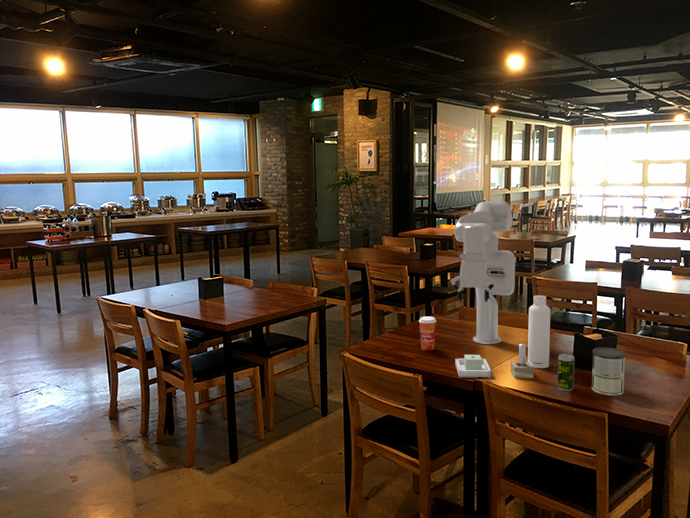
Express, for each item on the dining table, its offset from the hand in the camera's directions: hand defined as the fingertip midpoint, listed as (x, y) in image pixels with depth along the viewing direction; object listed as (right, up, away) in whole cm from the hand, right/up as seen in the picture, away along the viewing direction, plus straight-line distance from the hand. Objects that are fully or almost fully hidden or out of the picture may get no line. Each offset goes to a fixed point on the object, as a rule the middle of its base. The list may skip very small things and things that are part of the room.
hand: (473, 301), depth 212 cm
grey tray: (+1, -28, +4) cm, 28 cm away
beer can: (+29, -30, -17) cm, 45 cm away
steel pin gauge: (+18, -28, -2) cm, 33 cm away
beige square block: (+18, -28, -2) cm, 33 cm away
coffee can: (+43, -30, -20) cm, 56 cm away
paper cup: (-12, -24, +34) cm, 43 cm away
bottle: (+28, -27, +9) cm, 40 cm away
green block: (+1, -27, +3) cm, 27 cm away
